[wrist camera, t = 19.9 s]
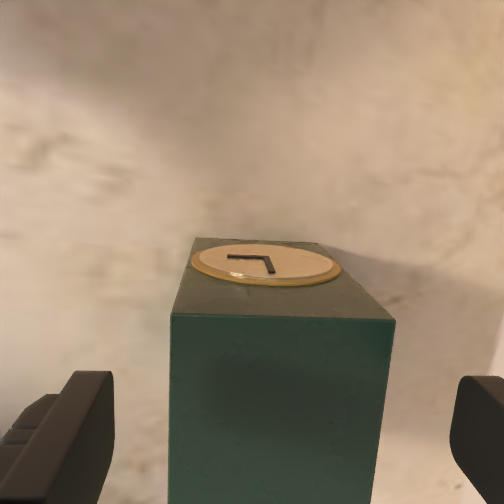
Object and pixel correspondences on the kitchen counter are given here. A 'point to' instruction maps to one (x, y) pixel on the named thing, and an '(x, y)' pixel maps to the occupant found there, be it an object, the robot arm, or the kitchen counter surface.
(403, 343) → the kitchen counter surface
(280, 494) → the clock
